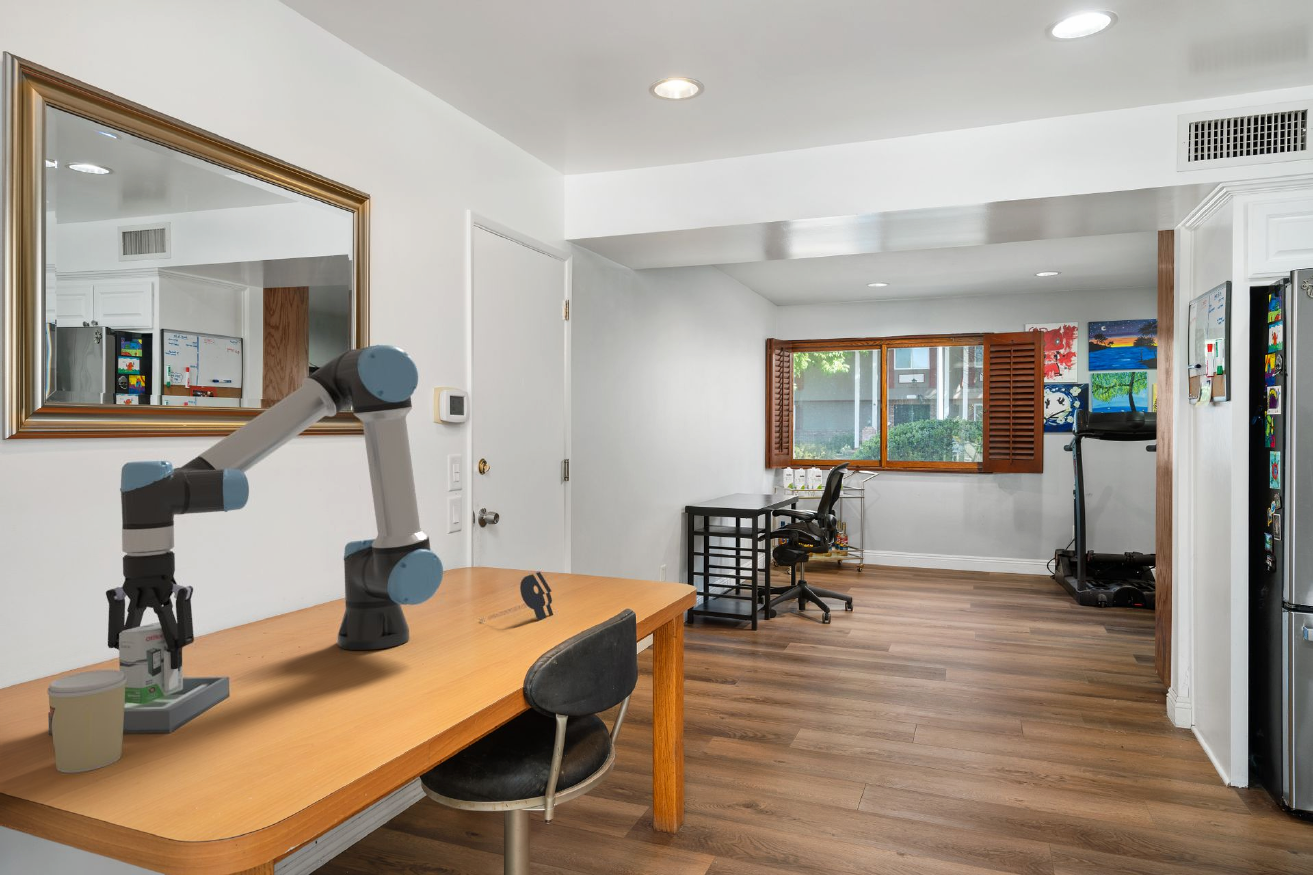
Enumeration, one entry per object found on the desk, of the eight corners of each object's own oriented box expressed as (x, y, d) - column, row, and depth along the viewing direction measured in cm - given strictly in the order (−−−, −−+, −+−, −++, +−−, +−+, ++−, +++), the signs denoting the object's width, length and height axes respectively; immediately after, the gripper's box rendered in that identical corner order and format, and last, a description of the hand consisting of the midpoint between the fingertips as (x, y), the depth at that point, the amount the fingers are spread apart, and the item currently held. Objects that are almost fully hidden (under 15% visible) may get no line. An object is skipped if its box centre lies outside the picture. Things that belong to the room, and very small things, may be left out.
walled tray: (229, 696, 148) (229, 676, 148) (169, 732, 130) (169, 710, 130) (123, 697, 148) (122, 678, 148) (48, 734, 130) (48, 712, 130)
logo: (582, 605, 207) (567, 561, 208) (532, 625, 192) (517, 578, 194) (535, 620, 217) (522, 578, 218) (485, 640, 202) (471, 595, 203)
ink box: (142, 705, 136) (140, 633, 136) (118, 703, 137) (116, 632, 137) (184, 689, 144) (183, 621, 144) (161, 687, 146) (160, 620, 145)
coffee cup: (75, 750, 123) (73, 670, 123) (141, 747, 124) (139, 667, 124) (33, 777, 114) (31, 689, 114) (105, 773, 114) (102, 686, 114)
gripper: (216, 547, 144) (219, 680, 144) (108, 549, 144) (111, 682, 145) (191, 554, 137) (195, 694, 137) (78, 556, 137) (81, 696, 137)
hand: (152, 687), depth 141 cm, fingers closed on ink box, 6 cm apart
